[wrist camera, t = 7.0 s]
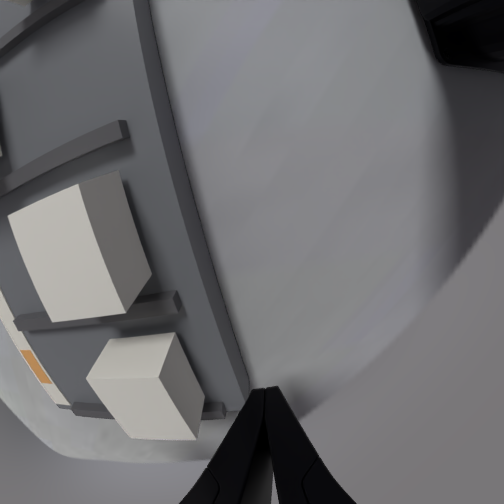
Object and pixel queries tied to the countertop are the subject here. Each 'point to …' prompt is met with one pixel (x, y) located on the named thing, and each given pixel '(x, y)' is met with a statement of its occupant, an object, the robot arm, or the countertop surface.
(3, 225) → the switch bank
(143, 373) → the off-white short block
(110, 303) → the white rectangular block
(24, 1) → the white rectangular block
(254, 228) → the countertop surface
